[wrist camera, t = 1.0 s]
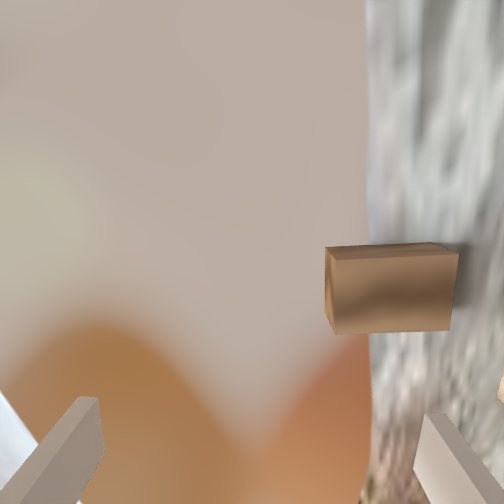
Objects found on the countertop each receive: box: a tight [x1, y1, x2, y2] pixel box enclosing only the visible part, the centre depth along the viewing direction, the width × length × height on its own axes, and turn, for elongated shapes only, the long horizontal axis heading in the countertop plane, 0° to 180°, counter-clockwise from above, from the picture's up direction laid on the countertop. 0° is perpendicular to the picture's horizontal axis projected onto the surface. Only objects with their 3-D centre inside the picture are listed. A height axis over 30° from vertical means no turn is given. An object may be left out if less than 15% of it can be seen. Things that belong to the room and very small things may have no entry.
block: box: [325, 242, 459, 335], centre depth 27 cm, size 7×10×4 cm
